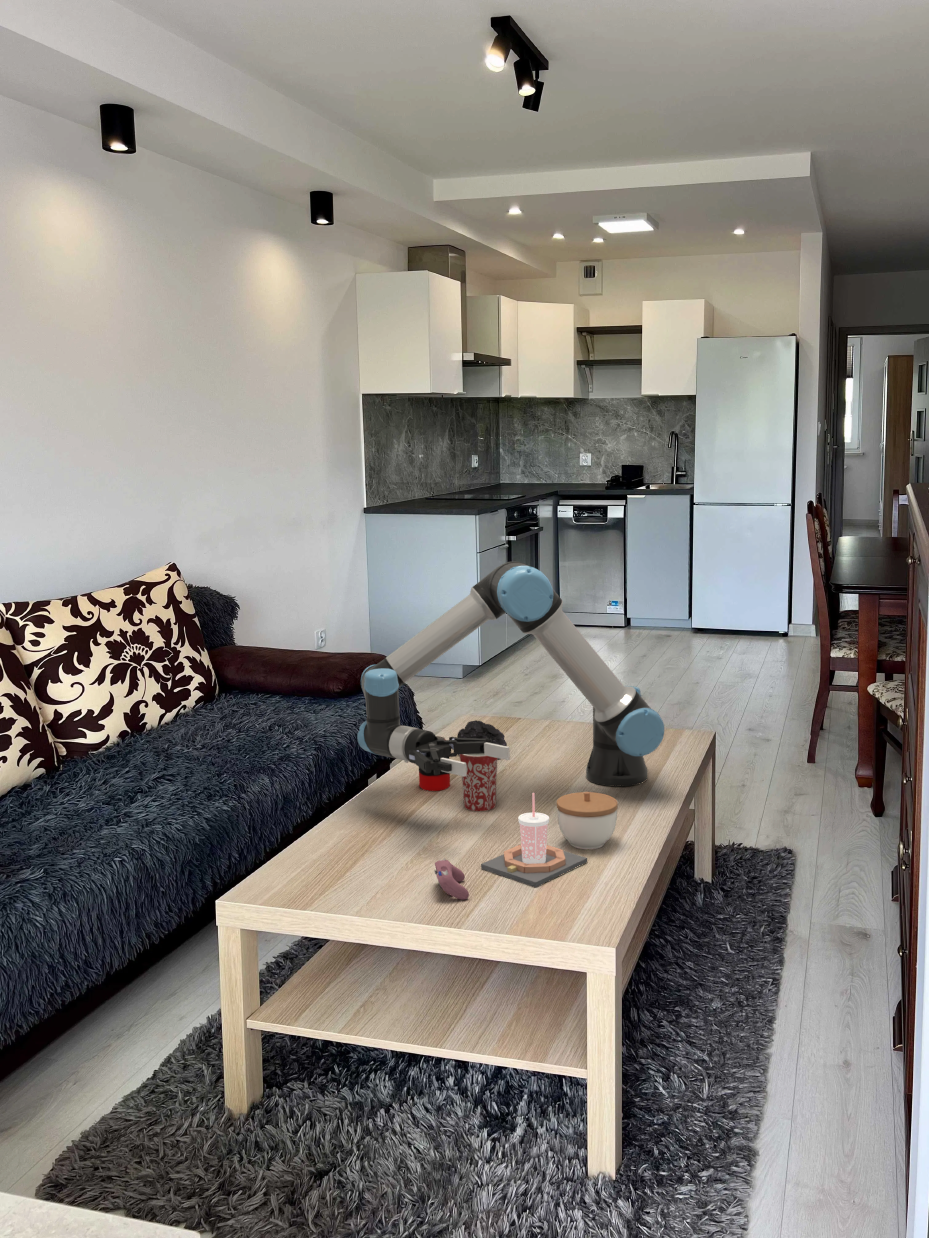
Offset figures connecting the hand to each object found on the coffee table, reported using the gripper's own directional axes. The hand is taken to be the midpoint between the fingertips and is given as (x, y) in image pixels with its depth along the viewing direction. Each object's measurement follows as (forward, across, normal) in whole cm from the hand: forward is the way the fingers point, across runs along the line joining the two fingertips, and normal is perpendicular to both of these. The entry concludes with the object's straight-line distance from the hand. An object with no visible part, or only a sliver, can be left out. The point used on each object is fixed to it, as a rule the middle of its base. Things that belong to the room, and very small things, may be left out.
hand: (487, 761), depth 225 cm
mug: (-18, -18, -18) cm, 31 cm away
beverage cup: (+15, +4, -17) cm, 23 cm away
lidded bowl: (+15, -13, -18) cm, 27 cm away
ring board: (+15, +4, -18) cm, 23 cm away
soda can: (-36, -20, -18) cm, 45 cm away
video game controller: (+10, +23, -18) cm, 31 cm away
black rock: (-45, -48, -18) cm, 68 cm away
